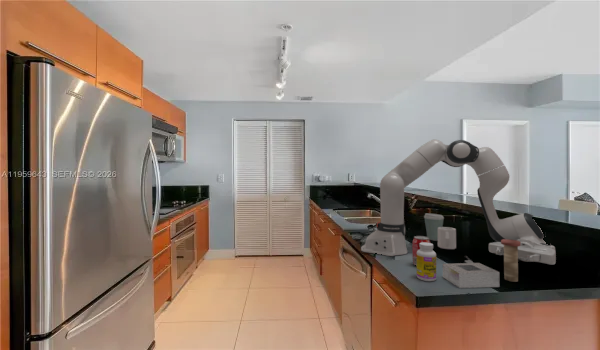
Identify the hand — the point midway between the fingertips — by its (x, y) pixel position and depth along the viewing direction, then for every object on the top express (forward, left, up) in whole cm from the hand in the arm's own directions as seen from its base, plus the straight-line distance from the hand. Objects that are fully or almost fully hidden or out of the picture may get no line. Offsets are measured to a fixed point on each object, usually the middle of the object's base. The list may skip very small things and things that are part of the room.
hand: (512, 255), depth 101 cm
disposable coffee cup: (-26, +55, -9) cm, 62 cm away
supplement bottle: (-29, -13, -9) cm, 33 cm away
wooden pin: (-1, -2, -8) cm, 9 cm away
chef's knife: (-12, +14, -9) cm, 21 cm away
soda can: (-31, +1, -9) cm, 32 cm away
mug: (-20, +37, -9) cm, 43 cm away
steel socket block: (-15, -11, -8) cm, 20 cm away
